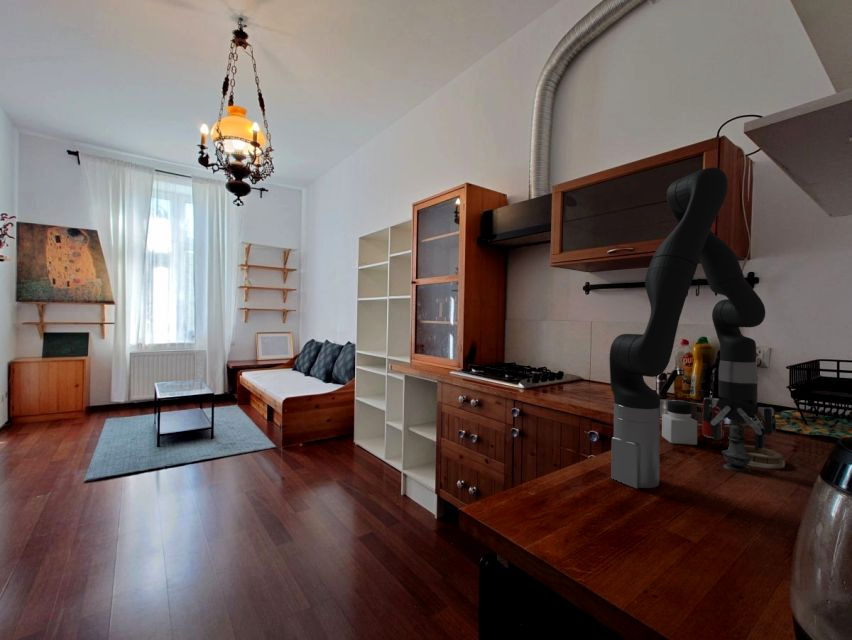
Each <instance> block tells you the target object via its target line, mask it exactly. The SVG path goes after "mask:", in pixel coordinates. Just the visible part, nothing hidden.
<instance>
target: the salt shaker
mask: <svg viewBox="0 0 852 640" xmlns="http://www.w3.org/2000/svg"><path fill="white" fill-rule="evenodd" d="M727 439H729V440H728V441H729V442H728V443H729V444H728V445H729V446H728V447H727V448H728V449H725V450H721V453H722V454H723V458H724V460H725V461H726V463H724V464H723V465H722V467H723V468H724V469H725V470H728V471H732V472H736V473H742V474H745V473H746V474H748V473H751V469H749V468H748V467H747V466H749V465H748V464H749V462H750V459H751V458H752V456H751V455H749V454H747V453H746V451H745V445H746V444H745V442H746V441H747V439H745V426H743V425H742V424H740V423H739V421H737V420H735V423H732V424H730V426H729V436H728V437H727Z"/></svg>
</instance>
